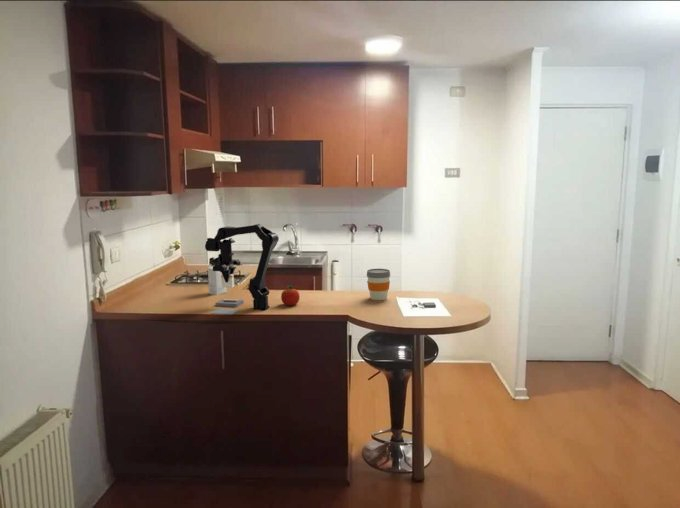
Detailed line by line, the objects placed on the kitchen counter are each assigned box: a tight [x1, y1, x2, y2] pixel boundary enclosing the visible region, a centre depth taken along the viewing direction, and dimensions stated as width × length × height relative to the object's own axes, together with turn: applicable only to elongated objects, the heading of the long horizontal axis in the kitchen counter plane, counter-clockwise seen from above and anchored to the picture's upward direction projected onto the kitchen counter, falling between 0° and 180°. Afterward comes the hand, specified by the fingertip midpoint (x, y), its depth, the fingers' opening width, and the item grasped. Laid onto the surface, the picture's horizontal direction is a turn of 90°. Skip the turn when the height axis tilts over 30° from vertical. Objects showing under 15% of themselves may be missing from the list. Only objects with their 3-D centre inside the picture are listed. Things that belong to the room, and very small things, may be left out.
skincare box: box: [207, 266, 228, 296], centre depth 287 cm, size 8×7×16 cm
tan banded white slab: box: [221, 273, 235, 288], centre depth 257 cm, size 6×2×6 cm, turn 74°
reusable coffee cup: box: [366, 268, 391, 301], centre depth 269 cm, size 13×13×15 cm
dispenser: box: [215, 298, 245, 308], centre depth 261 cm, size 12×8×2 cm, turn 75°
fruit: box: [280, 285, 300, 307], centre depth 259 cm, size 10×10×10 cm
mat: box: [209, 308, 240, 316], centre depth 248 cm, size 12×8×1 cm, turn 75°
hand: (227, 281), depth 257 cm, fingers closed on tan banded white slab, 2 cm apart
